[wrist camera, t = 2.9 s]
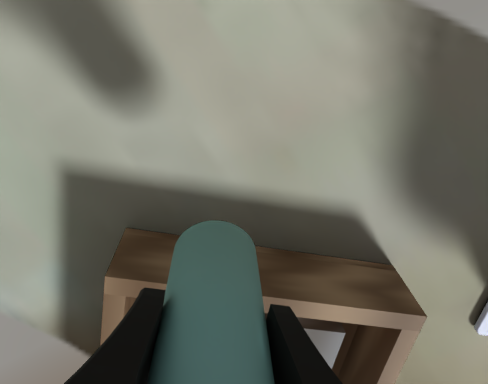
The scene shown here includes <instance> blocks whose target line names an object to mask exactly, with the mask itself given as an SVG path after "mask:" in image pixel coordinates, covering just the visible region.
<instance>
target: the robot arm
mask: <svg viewBox="0 0 488 384" xmlns="http://www.w3.org/2000/svg"><path fill="white" fill-rule="evenodd" d="M165 291H166V290H161V289H153V288H146V287H145V288H143V289H142V290H141V291H140V293H139V295H138V297H137V298H136V300H135V302H134V303H133V305H132V306H131V308H130V309H129V311H128V312H127V314H126V315H125V316H124V318H123V319H122V320H121V322H120V323H119V324H118V325H117V327H116V328H115V329H114V331H113V332H112V333H111V334H110V336H109V337H108V338H107V339H106V340H105V341H104V343H103V344H102V345H101V346H100V347H99V348H98V349H97V350H96V352H95V353H94V354H93V355H92V356H91V357H90V358H89V359H88V360H87V361H86V362H85V363H84V364H83V366H82V367H81V368H80V369H79V370H78V371H77V372H76V373H75V374H74V375H72V376H71V377H70V378H69V379H68V380H67V381H66V382H65V383H64V384H147V381H148V376H149V371H150V366H151V361H152V356H153V351H154V346H155V342H156V338H157V334H158V330H159V325H160V320H161V315H162V310H163V304H164V297H165ZM266 326H267V333H268V340H269V347H270V354H271V361H272V368H273V375H274V382H275V384H343V383H342V382H341V381H340V380H339V378H338V377H337V376H336V374H335V373H334V372H333V370H332V369H331V368H330V366H329V365H328V364H327V362H326V361H325V359H324V358H323V356H322V355H321V354H320V352H319V351H318V349H317V348H316V346H315V345H314V343H313V342H312V340H311V339H310V337H309V336H308V334H307V333H306V331H305V329H304V328H303V326H302V325H301V323H300V322H299V320H298V318H297V317H296V315H295V314H294V312H293V311H292V309H291V308H290V306H284V305H276V304H270V308H269V311H268V315H267V318H266ZM474 329H475V330H476V332H477V333H478V334H480V335H486V336H488V302H487V304H486V306H485V308H484V309H483V311H482V313H481V315H480V317H479V318H478V320H477V322H476V324H475V326H474Z"/></svg>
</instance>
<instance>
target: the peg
mask: <svg viewBox="0 0 488 384" xmlns="http://www.w3.org/2000/svg"><path fill="white" fill-rule="evenodd" d="M147 384H275V382H274V375H273V368H272V361H271V354H270V347H269V340H268V333H267V326H266V319H265V312H264V304H263V297H262V290H261V283H260V276H259V269H258V262H257V255H256V248H255V245H254V243H253V241H252V239H251V238H250V236H249V235H248V234H247V233H246V232H245V231H244V230H243V229H241V228H240V227H238V226H236V225H234V224H232V223H229V222H225V221H218V220H211V221H204V222H201V223H198V224H195V225H193V226H191V227H190V228H188V229H187V230H186V231H185V232H183V233H182V235H181V236H180V237H179V238H178V240H177V242H176V244H175V247H174V251H173V256H172V261H171V266H170V271H169V276H168V281H167V286H166V291H165V297H164V304H163V310H162V315H161V320H160V325H159V330H158V334H157V338H156V342H155V346H154V351H153V356H152V361H151V366H150V371H149V376H148V381H147Z"/></svg>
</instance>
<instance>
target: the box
mask: <svg viewBox="0 0 488 384" xmlns="http://www.w3.org/2000/svg"><path fill="white" fill-rule="evenodd" d="M180 236H181V235H174V234H167V233H159V232H152V231H145V230H138V229H131V228H126V229H125V231H124V234H123V236H122V238H121V241H120V243H119V245H118V247H117V250H116V252H115V254H114V257H113V259H112V261H111V264H110V266H109V268H108V270H107V273H106V275H105V282H104V297H103V312H102V326H101V341H100V346H101V345H102V344H103V343H104V341H105V340H106V339H107V338H108V337H109V336H110V334H111V333H112V332H113V331H114V329H115V328H116V327H117V325H118V324H119V323H120V322H121V320H122V319H123V318H124V316H125V315H126V314H127V312H128V311H129V309H130V308H131V306H132V305H133V303H134V302H135V300H136V298H137V297H138V295H139V293H140V291H141V290H142V289H143V288H145V287H146V288H153V289H161V290H166V286H167V281H168V276H169V271H170V266H171V261H172V256H173V251H174V247H175V244H176V242H177V240H178V238H179V237H180ZM255 248H256V255H257V262H258V269H259V276H260V283H261V290H262V297H263V304H264V312H265V319H266V318H267V315H268V311H269V308H270V304H276V305H284V306H290V308H291V309H292V311H293V312H294V314H295V315H296V317H297V318H298V320H299V322H300V323H301V325H302V326H303V328H304V329H305V331H306V333H307V334H308V336H309V337H310V339H311V340H312V342H313V343H314V345H315V346H316V348H317V349H318V351H319V352H320V354H321V355H322V356H323V358H324V359H325V361H326V362H327V364H328V365H329V366H330V368H331V369H332V370H333V372H334V373H335V374H336V376H337V377H338V378H339V380H340V381H341V382H342V383H343V384H395V382H396V380H397V378H398V376H399V374H400V372H401V370H402V368H403V366H404V364H405V362H406V359H407V357H408V355H409V353H410V351H411V349H412V347H413V345H414V343H415V341H416V339H417V337H418V335H419V333H420V331H421V328H422V326H423V324H424V322H425V320H426V318H427V316H426V314H425V313H424V311H423V310H422V308H421V307H420V305H419V304H418V302H417V301H416V299H415V298H414V296H413V295H412V293H411V292H410V290H409V289H408V287H407V286H406V284H405V283H404V281H403V280H402V278H401V277H400V275H399V274H398V272H397V271H396V269H395V268H394V267H393V265H387V264H380V263H373V262H365V261H358V260H351V259H344V258H337V257H330V256H323V255H316V254H309V253H302V252H294V251H287V250H280V249H273V248H266V247H259V246H255Z"/></svg>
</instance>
